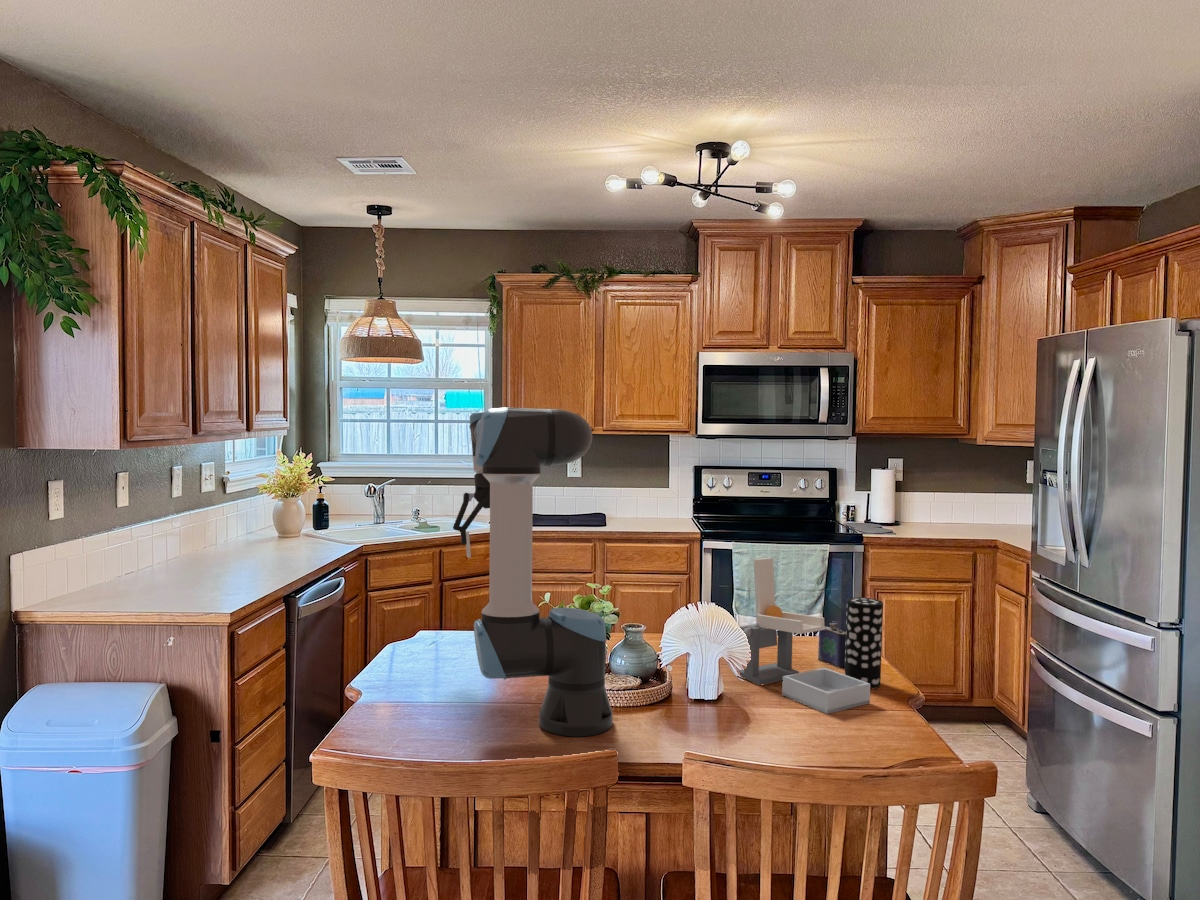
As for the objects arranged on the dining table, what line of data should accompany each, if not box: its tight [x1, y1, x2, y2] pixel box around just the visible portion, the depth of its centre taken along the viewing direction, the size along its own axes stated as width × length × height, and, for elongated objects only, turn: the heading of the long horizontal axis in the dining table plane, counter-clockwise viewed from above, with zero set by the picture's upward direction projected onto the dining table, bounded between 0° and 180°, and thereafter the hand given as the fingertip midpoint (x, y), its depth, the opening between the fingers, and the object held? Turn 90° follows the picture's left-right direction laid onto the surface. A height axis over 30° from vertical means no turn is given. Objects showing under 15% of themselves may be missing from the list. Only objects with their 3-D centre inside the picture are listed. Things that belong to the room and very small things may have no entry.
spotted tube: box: [844, 596, 884, 689], centre depth 203 cm, size 8×8×20 cm
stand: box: [738, 624, 800, 686], centre depth 207 cm, size 8×15×13 cm, turn 122°
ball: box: [766, 605, 783, 618], centre depth 205 cm, size 4×4×4 cm
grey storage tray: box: [781, 667, 871, 715], centre depth 191 cm, size 14×14×4 cm
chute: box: [740, 557, 826, 649], centre depth 204 cm, size 21×8×22 cm, turn 32°
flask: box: [817, 622, 846, 669], centre depth 219 cm, size 9×3×11 cm, turn 28°
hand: (495, 554), depth 216 cm, fingers open, 13 cm apart
